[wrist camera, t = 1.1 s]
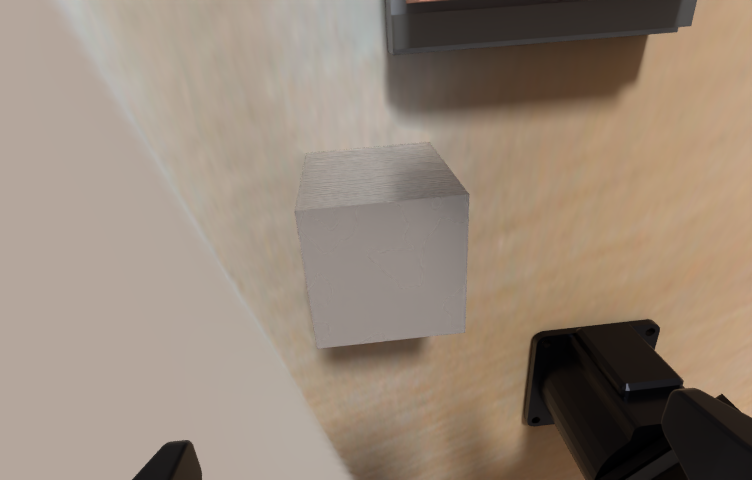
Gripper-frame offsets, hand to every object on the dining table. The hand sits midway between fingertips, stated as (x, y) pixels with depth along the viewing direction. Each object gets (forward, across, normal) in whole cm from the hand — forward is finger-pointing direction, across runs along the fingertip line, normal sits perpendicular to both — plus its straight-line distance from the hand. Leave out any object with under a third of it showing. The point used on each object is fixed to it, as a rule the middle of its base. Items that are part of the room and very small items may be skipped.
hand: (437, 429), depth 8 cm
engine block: (+12, 0, 0) cm, 12 cm away
